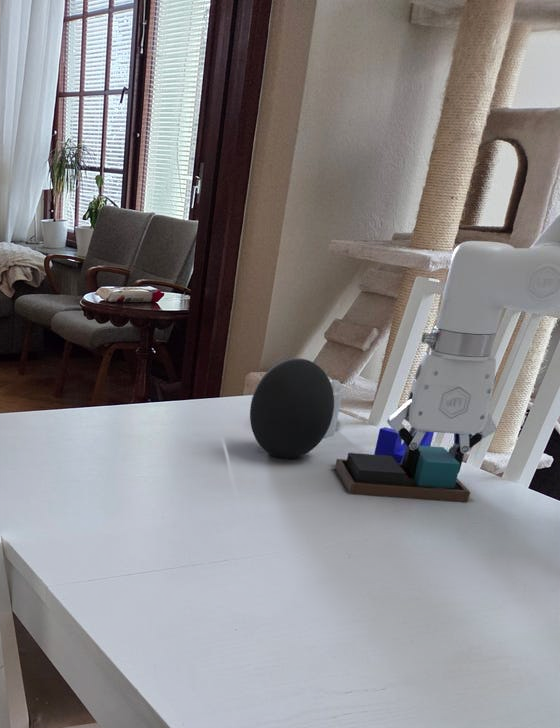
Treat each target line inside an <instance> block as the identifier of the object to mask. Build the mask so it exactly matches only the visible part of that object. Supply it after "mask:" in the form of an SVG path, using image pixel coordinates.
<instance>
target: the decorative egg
mask: <svg viewBox="0 0 560 728" xmlns="http://www.w3.org/2000/svg"><path fill="white" fill-rule="evenodd" d="M327 376H328V375H327V373H326V372H325V371H324V370H323V368H322V367H320V366H319V365H318V364H316V362H313V361H312V360H309V359H305V358H302V357H301V358H299V357H293V358H288V359H285V360H282V361H280V362H277V363H276V364H274V365H273V366H272V367H270V368H269V369H268V370H267V371H266V372H265V373H264V374H263V376H262V377H261V378H260V379H259V381H258V383H257V385H256V387H255V389H254V391H253V394H252V397H251V401H250V407H249V421H250V428H251V431H252V434H253V436H254V438H255V440H256V442H257V443H258V445H259V446H260V447H261V448H262V450H263V451H265V452H266V453H267V454H269V455H270V456H273V457H275V458H279V459H284V460H285V459H287V460H289V459H291V460H292V459H296V458H297V459H298V458H300V457H302V456H304V455H306V454H308V453H310V452H311V451H313V450H314V449H315V448H316V447H317V446H318V445H319V444H320V443H321V441H322V440H323V439H324V438H325V437H324V436H325V434H326V432H327V431H328V428H329V426H330V424H331V420H332V417H333V412H334V394H333V389H332V385H331V383H330V380H329V378H328V377H329V376H328V377H327ZM323 437H324V438H323Z"/></svg>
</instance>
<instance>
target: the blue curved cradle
mask: <svg viewBox="0 0 560 728" xmlns="http://www.w3.org/2000/svg"><path fill="white" fill-rule="evenodd" d="M434 434H435V432H426V433H425V435H424V437H423V439H422V440H421V442H420V444H419V446H432V441H433V438H434ZM375 444H376V445H375V448H374V449H375V450H374V453H373V455H386V456H392V457H393V458H394V459H395V460H396V462H397V463H403V459H404V454H405V450H406V446H407V445H406V444H405V442H404V441H403V440H402V438H401V437H400V436H399V434H398V433H397V432H396V431H395V430H394V429H393V428H390V427H386V426H384V427H381V428H379V431H378V435H377V440H376V443H375Z"/></svg>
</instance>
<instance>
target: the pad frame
mask: <svg viewBox="0 0 560 728" xmlns="http://www.w3.org/2000/svg"><path fill="white" fill-rule="evenodd" d="M346 462H347V458H346V459H345V458H344V459H343V458H336V460H335V466H334V470H335V472H336V474H337V475H338V477H339V479H340V480H341V482H342V484H343V485H344V487H345V489H346V490H347V492H348V494H349V495H353V496H354V495H356V496H368V497H369V496H370V497H383V498H398V499H411V500H412V499H413V500H425V501H426V500H427V501H439V502H451V503H454V502H455V503H468V502H469V499H470V496H471V495H470V494H471V491H470V490H469V489H468V488H467V487H466V486H465V485H464V484H463V482H461V481H460V480H459V478H457V479H456V483H455V487H454V488H443V487H427V486H418V485H417V484H416V483H415V482H414V480H413V479H412V478H409V477H408V476H407V475H405V479H404V483H403V486H397V485H383V484H369V483H355V482H354V480H353V478H352V477H351V475H350V474H349V472H348V470H347V469H346ZM398 464H399V465H400V467H401V468H402V463H398Z"/></svg>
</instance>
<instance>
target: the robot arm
mask: <svg viewBox="0 0 560 728" xmlns="http://www.w3.org/2000/svg"><path fill="white" fill-rule="evenodd" d="M451 256H452V257H451V260H450V264H449V268H448V273H447V278H446V280H445V285H444V289H443V293H442V298H441V303H440V307H439V311H438V316H437V320H436V324H435V326H434V327H433V330H432V331H429V332H423V333H422V336H421V344H426V345H428V347H429V348H430V349H429V350H425V351H424V353H423V355H422V358H421V359H420V362H419V364H418V367H417V369H416V372H415V373H414V377H413V380H412V382H411V385H410V389H409V391H408V395H407V398H406V402H404V403H403V404H402V406H401V407H400V408H398V409H397V410H396V411H395V412H394V413H393V414H392V415H390V416H389V418H387V421H386V422H387V424H388V425H389V427H391V429H394V430H395V431H396V432H397V433H398V434H399V436H400V437H401V438H402V442H405V444H406V445H407V446H406V450H405V454H404V459H403V463H402V469H403V470H404V472H405V473H406V475H407V476H408V477H409V478H413V477H414V474H415V470H416V466H417V462H418V458H419V456H420V451H419V450H418V448H419V444H420V442H421V440H422V439H423V437H424V435H425V433H426V432H434V433H441V434H442V433H443V434H453V442H454V444H453V445H452V446H450V448H448V450H447V451H448V452H449V453H450V454H451V455H452V456H453V457H454V458H455V459H456V460H457V461H458V462H459V463H460V468H459V472H458V474H459V473H460V472H461V467H462V463H463V460H464V456H465V454H467V453H469V451H470V449H471V448H473V447H474V446H476V445H477V444H479V442H481V441H482V440H483V439H485V438H487V437H489V436H490V435H492V434H494V433H495V432H497V425H496V423H495V422H494V420H493V417H492V416H491V414H490V408H491V403H492V398H493V393H494V392H493V391H494V387H495V386H494V385H495V377H496V368H497V367H496V365H497V359H496V358H495V357H493V356H491V354H492V350H493V346H494V342H495V339H496V335H497V331H498V328H499V324H500V321H501V317H502V313H503V311H504V310H503V309H504V306H505V307H509V308H513V309H517V310H521V311H525V312H529V313H537V314H543V313H549V312H552V311H555V310H558V309H560V212H559V213H558V214H557V215H556V217H554V219H553V220H552V222H551V223H550V224H549V225H548V226H547V227H546V228H545V229H544V230H543V232H542V233H541V234H540V235H539V237H538V238H536V240H535V241H534V242H533V243H532V245H531V246H530V247H521V248H520V247H514V246H513V245H511V244H508V243H505V242H496V241H485V240H483V241H482V240H468V241H467V240H466V241H463V242H461V243H460V244H458V245H457V246H456V247H455V248H454V251H453V252H452V255H451ZM403 421H406V422H408V424H409V425H410V426H411V427H410V429H409V430H408V429H407V428H406V426H404V425H403Z"/></svg>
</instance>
